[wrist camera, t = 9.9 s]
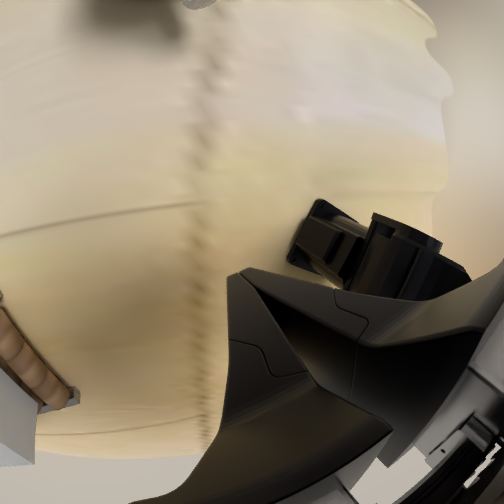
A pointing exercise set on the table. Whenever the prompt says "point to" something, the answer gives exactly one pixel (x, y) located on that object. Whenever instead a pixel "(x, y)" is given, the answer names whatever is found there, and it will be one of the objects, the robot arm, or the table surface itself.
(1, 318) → the roller
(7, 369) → the roller
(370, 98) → the table surface
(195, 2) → the cup
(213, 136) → the table surface
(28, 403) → the grey block
